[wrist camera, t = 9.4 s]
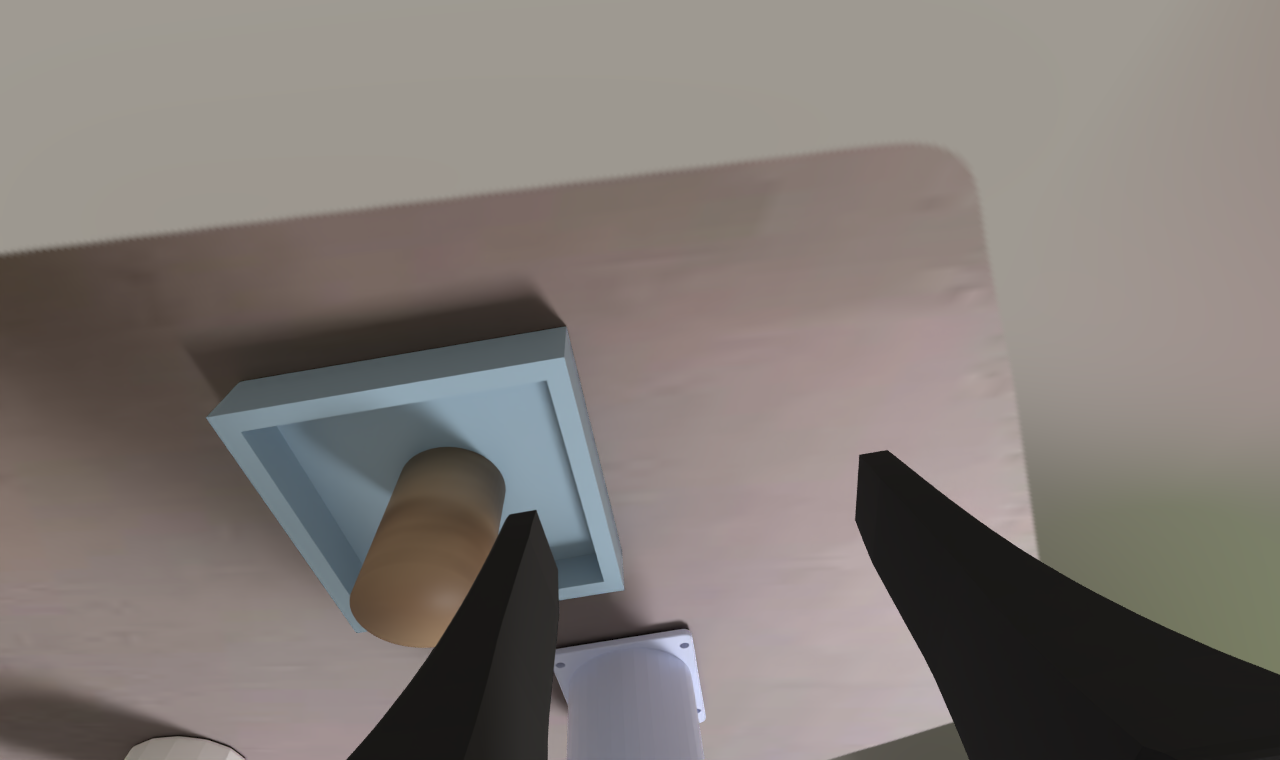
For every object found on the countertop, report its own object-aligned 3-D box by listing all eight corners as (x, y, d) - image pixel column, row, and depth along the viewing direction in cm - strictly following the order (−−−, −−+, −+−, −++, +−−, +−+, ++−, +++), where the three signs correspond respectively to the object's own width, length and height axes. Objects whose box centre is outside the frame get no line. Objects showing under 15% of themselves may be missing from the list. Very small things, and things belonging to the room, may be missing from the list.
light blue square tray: (621, 550, 29) (624, 590, 27) (371, 591, 29) (356, 633, 27) (566, 326, 22) (564, 357, 20) (239, 381, 22) (205, 417, 20)
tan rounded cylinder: (515, 517, 26) (497, 638, 21) (417, 530, 26) (375, 654, 21) (492, 440, 24) (465, 556, 19) (384, 454, 24) (328, 573, 19)
